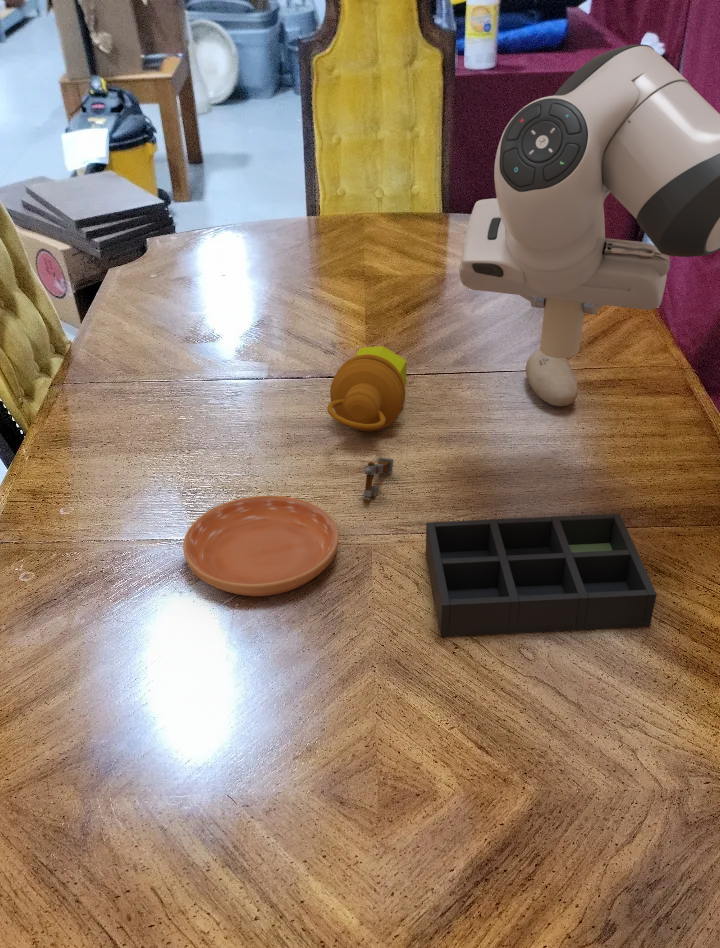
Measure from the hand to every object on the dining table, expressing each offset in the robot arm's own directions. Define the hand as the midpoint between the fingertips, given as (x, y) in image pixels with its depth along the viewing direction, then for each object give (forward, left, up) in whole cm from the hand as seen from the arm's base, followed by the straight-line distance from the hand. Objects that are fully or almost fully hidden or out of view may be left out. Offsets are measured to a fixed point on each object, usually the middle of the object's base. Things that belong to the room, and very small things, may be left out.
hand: (565, 304), depth 105 cm
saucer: (+33, +18, -19) cm, 42 cm away
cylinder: (0, +1, -5) cm, 5 cm away
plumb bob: (+20, -11, -19) cm, 30 cm away
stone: (-4, -16, -19) cm, 25 cm away
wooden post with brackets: (+20, +5, -19) cm, 28 cm away
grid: (+6, +25, -19) cm, 32 cm away
